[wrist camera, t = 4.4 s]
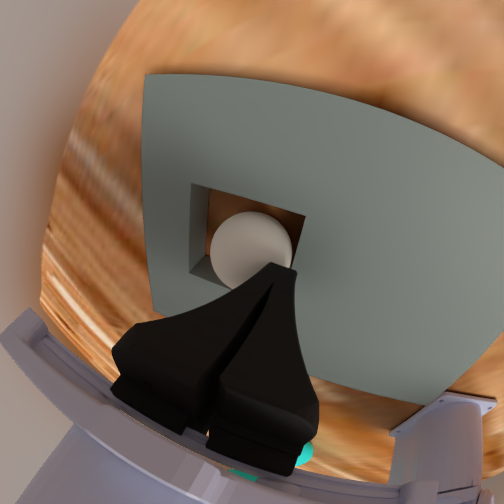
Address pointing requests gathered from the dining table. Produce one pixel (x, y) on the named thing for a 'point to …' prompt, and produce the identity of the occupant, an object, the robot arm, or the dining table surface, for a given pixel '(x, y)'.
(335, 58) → the dining table surface
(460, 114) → the dining table surface
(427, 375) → the plate
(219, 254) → the ball
